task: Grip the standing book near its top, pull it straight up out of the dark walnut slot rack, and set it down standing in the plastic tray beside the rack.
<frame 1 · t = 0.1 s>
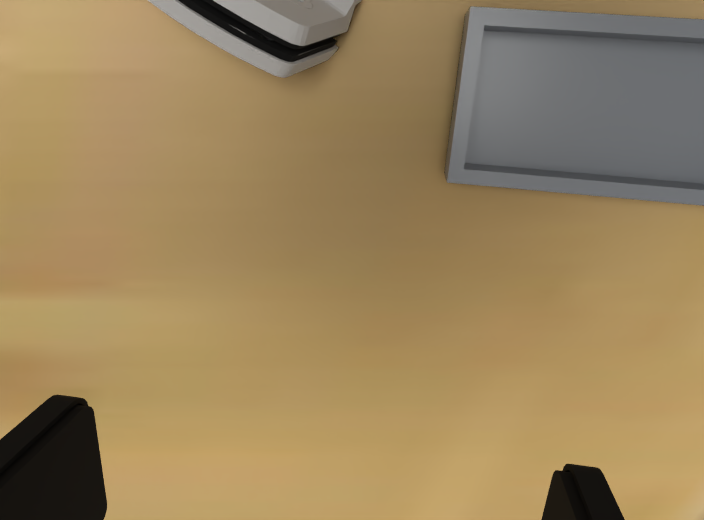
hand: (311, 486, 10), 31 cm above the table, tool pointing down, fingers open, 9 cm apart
tray: (610, 109, 35), on the table
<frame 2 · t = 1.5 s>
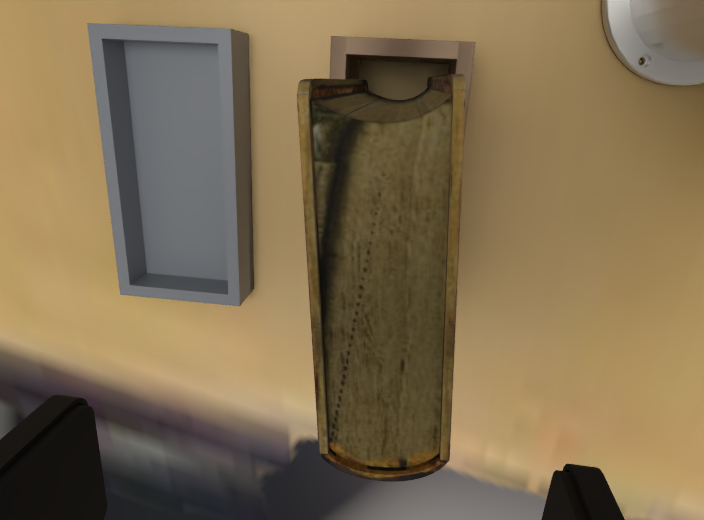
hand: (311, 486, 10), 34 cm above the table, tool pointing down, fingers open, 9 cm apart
tray: (190, 168, 44), on the table
rack: (394, 182, 42), on the table
book: (397, 181, 42), resting in rack
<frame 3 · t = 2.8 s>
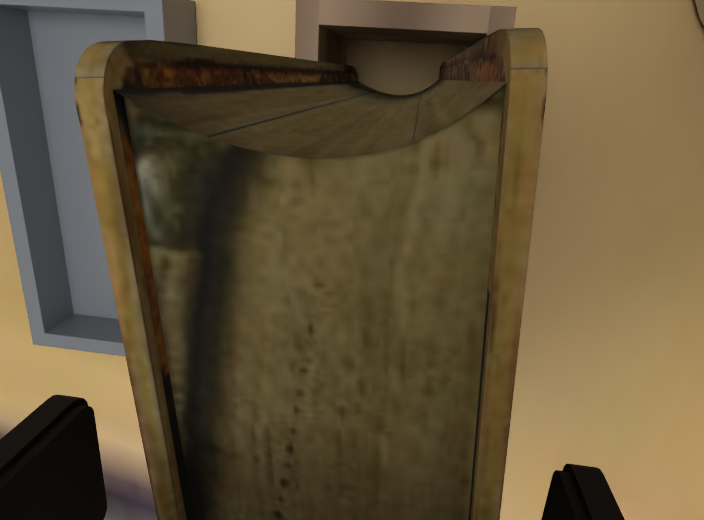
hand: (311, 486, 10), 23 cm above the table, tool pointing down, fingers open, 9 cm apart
tray: (125, 181, 33), on the table
rack: (392, 205, 31), on the table
book: (396, 204, 32), resting in rack
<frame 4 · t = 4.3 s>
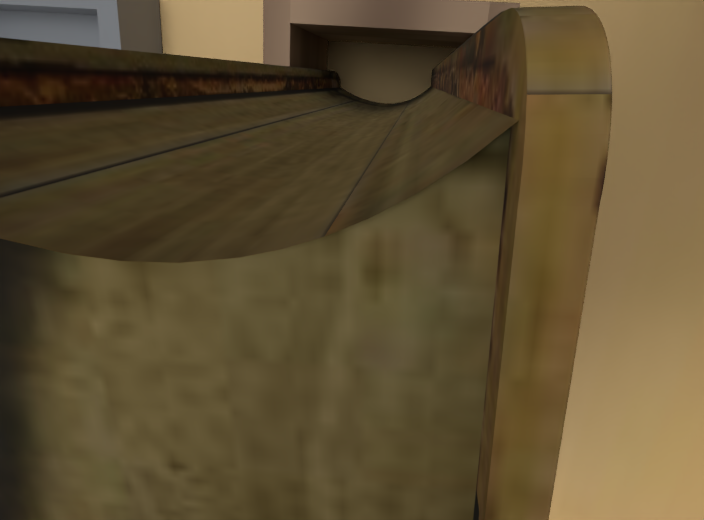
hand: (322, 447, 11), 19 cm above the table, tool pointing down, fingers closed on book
tray: (86, 197, 30), on the table
rack: (380, 224, 28), on the table
book: (383, 223, 29), resting in rack, touching gripper
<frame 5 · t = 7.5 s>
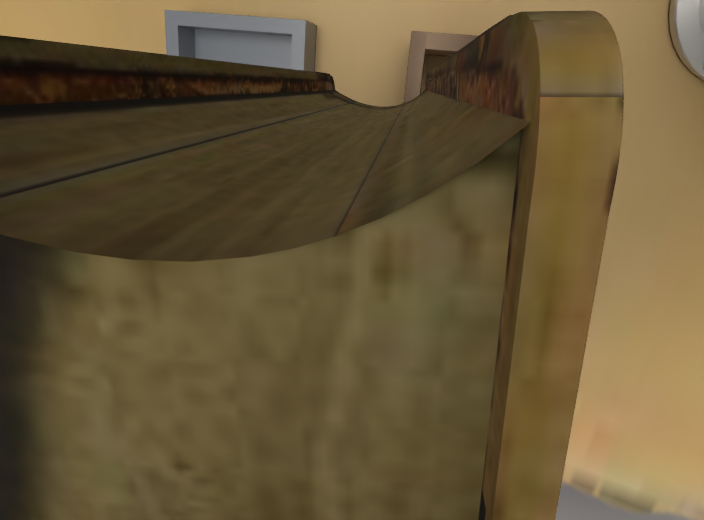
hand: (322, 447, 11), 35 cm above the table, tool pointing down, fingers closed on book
tray: (250, 154, 45), on the table
rack: (451, 175, 43), on the table
book: (377, 226, 29), point 16 cm above the table, touching gripper
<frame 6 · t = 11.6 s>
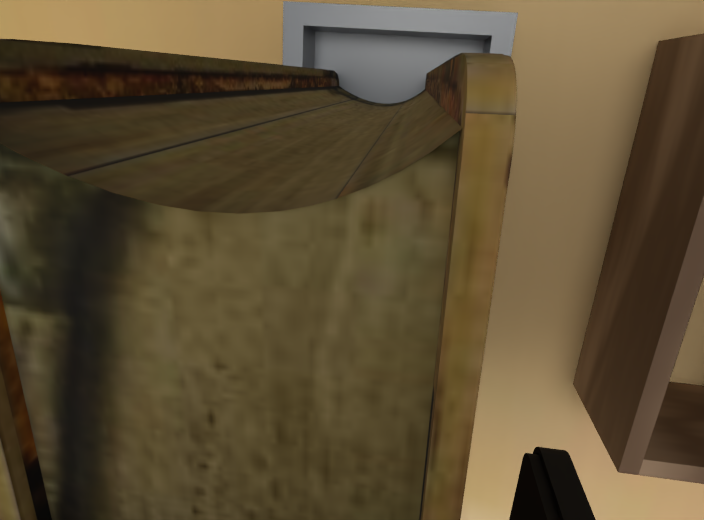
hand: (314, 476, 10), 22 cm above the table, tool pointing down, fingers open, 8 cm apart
tray: (384, 213, 31), on the table
rack: (690, 240, 29), on the table
book: (375, 217, 30), point 1 cm above the table, touching tray
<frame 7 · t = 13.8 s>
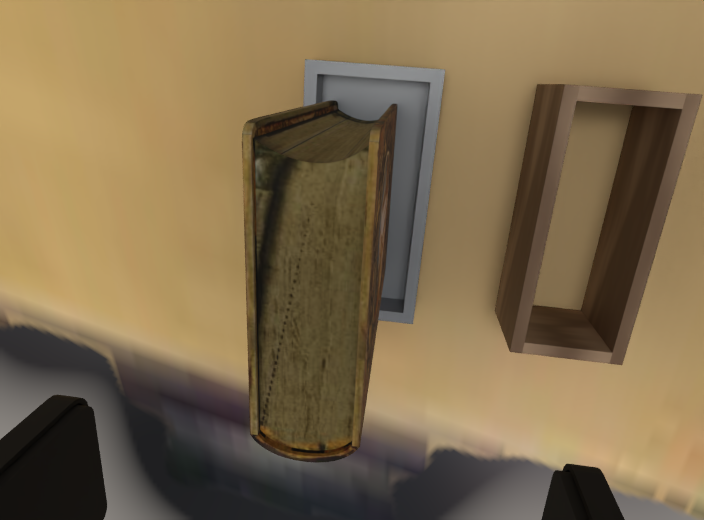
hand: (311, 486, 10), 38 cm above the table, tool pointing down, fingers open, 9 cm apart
tray: (367, 192, 46), on the table
rack: (565, 211, 45), on the table
book: (361, 194, 46), point 1 cm above the table, touching tray
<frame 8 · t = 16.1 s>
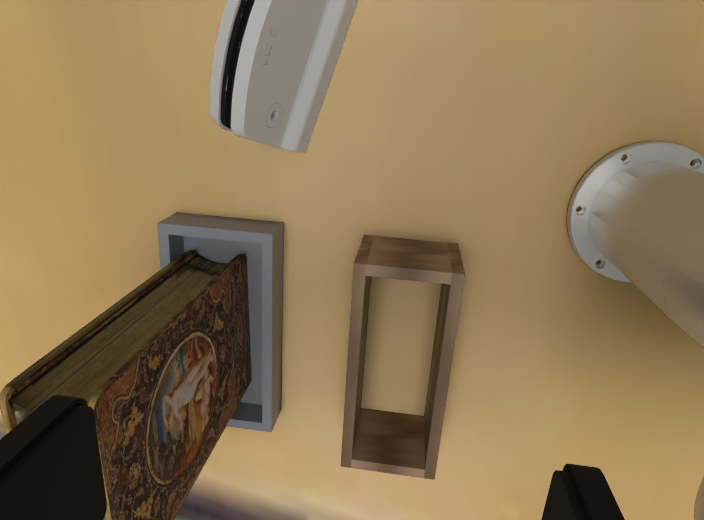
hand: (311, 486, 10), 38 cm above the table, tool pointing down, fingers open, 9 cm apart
white gray electronic device: (295, 49, 44), on the table
tray: (232, 316, 53), on the table
rack: (400, 336, 51), on the table
book: (225, 320, 53), point 1 cm above the table, touching tray
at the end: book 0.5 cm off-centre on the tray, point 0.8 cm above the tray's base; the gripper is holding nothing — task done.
